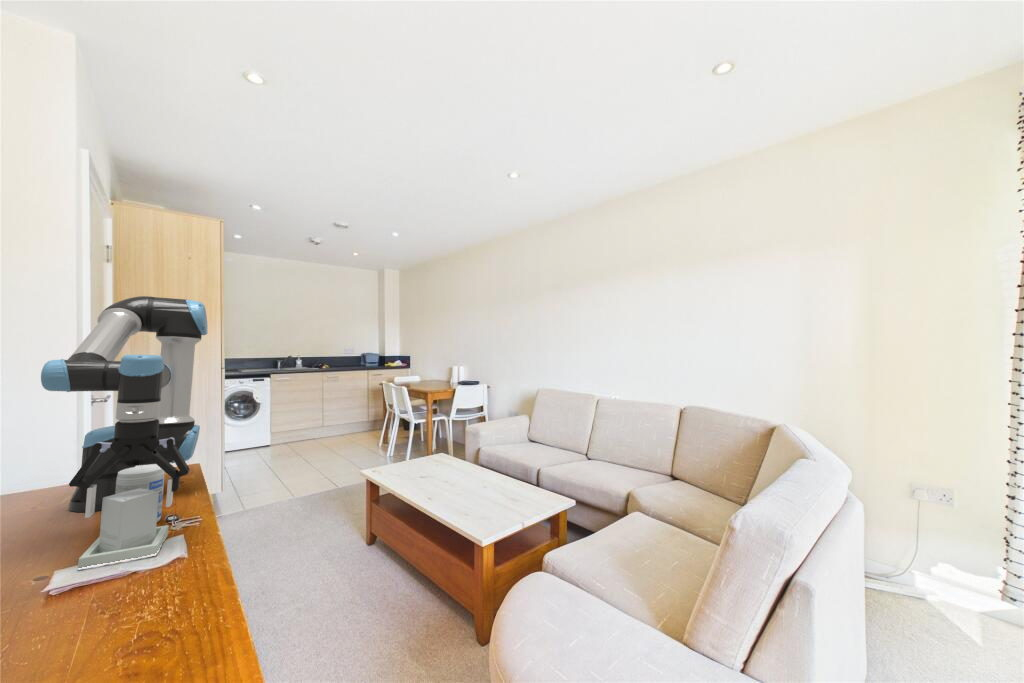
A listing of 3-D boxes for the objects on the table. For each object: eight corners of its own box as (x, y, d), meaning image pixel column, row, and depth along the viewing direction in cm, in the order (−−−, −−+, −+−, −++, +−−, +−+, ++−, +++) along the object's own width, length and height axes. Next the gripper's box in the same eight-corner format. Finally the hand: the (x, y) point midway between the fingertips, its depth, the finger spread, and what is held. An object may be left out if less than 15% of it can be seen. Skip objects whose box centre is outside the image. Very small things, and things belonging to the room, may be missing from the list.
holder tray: (99, 546, 91) (100, 535, 92) (168, 535, 98) (168, 525, 98) (77, 571, 81) (78, 558, 81) (156, 556, 88) (157, 545, 88)
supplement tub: (156, 527, 102) (161, 471, 103) (106, 535, 97) (111, 476, 98) (164, 514, 110) (168, 462, 111) (118, 521, 105) (122, 467, 106)
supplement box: (156, 545, 92) (160, 491, 93) (116, 559, 85) (120, 501, 86) (137, 539, 94) (141, 487, 95) (96, 553, 87) (101, 496, 88)
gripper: (52, 425, 81) (44, 527, 81) (202, 419, 95) (196, 506, 94) (68, 419, 88) (60, 514, 87) (206, 414, 101) (200, 496, 100)
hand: (130, 510), depth 90 cm, fingers open, 13 cm apart
